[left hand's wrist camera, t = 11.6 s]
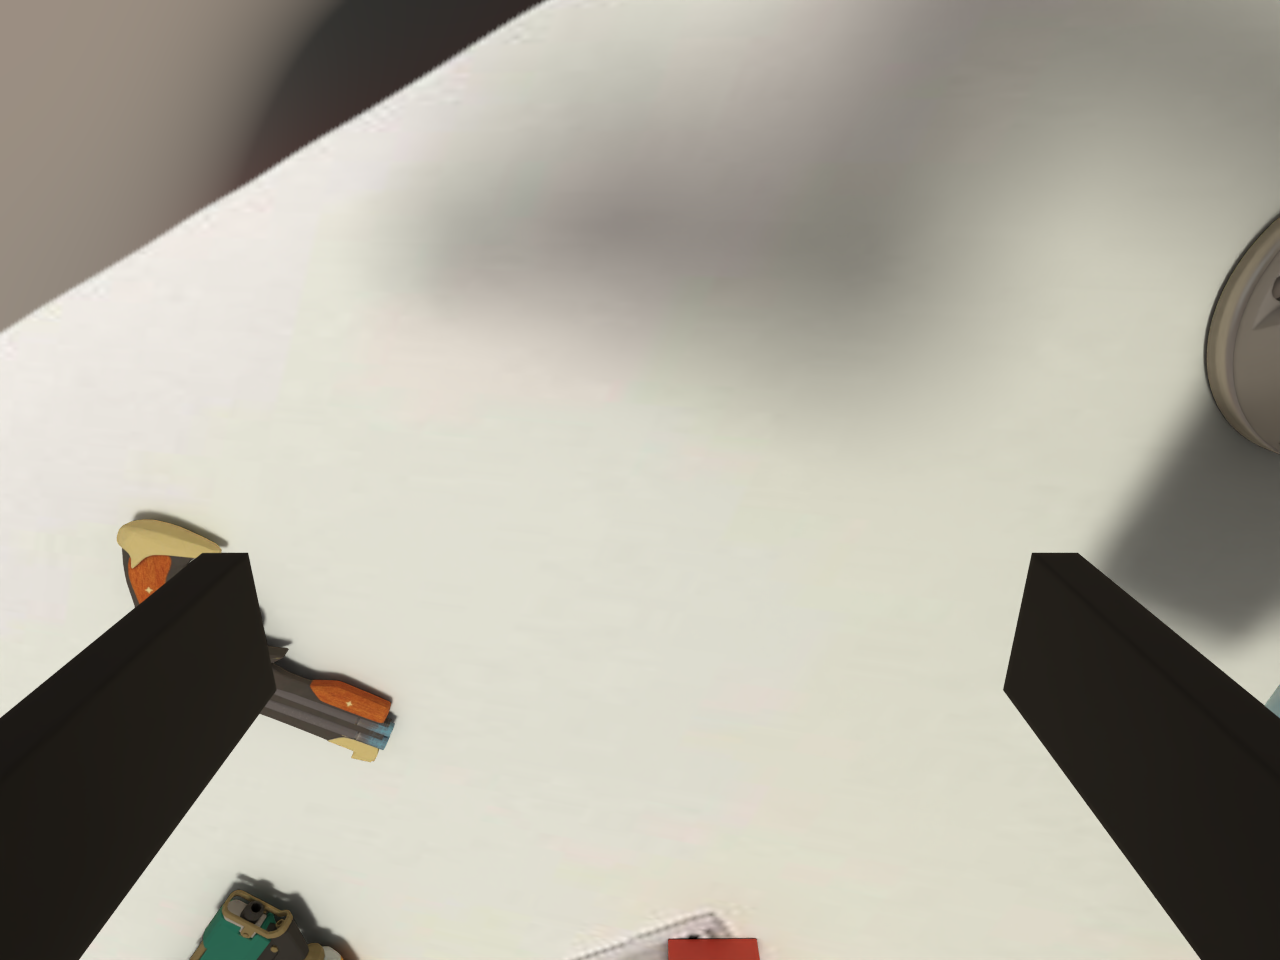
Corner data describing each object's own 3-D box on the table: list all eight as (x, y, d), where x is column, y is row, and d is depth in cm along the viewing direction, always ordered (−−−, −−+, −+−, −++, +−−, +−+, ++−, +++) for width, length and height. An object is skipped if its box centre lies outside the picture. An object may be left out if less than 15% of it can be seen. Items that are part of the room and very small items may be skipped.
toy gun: (115, 518, 41) (56, 664, 43) (438, 650, 45) (371, 776, 47) (141, 502, 43) (83, 641, 45) (444, 628, 48) (380, 749, 50)
